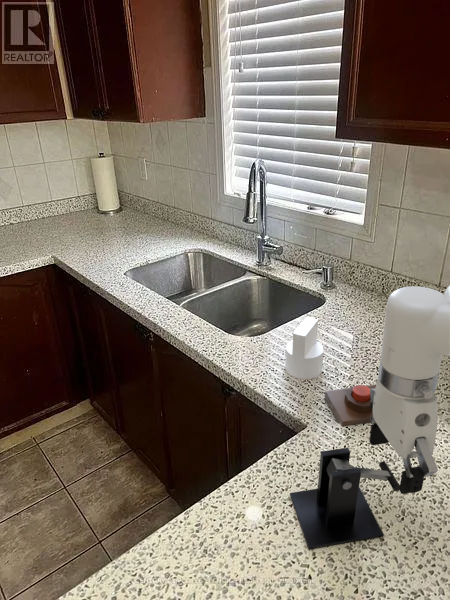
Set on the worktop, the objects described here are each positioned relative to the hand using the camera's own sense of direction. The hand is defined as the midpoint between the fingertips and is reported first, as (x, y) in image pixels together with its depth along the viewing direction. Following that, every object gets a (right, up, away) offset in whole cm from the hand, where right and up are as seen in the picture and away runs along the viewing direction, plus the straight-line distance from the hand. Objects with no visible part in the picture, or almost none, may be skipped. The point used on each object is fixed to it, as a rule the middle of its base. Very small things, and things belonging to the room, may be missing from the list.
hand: (393, 465), depth 69 cm
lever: (-5, -2, 0) cm, 6 cm away
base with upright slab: (-7, +9, +41) cm, 43 cm away
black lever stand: (-8, -10, +4) cm, 14 cm away
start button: (+3, +5, +25) cm, 26 cm away
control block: (+3, +2, +27) cm, 27 cm away
